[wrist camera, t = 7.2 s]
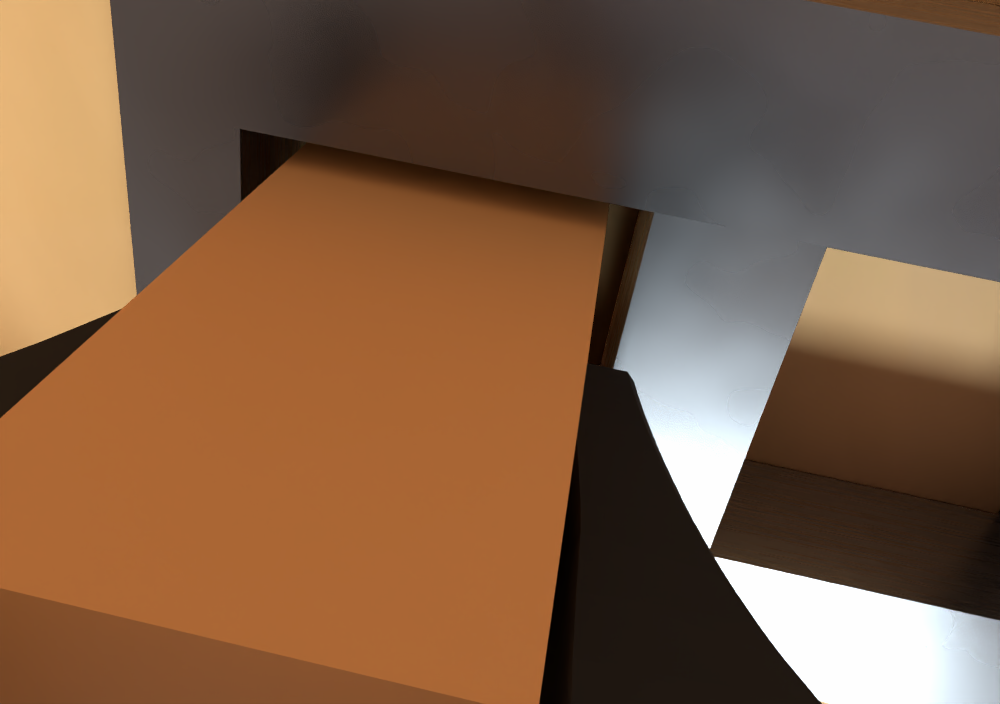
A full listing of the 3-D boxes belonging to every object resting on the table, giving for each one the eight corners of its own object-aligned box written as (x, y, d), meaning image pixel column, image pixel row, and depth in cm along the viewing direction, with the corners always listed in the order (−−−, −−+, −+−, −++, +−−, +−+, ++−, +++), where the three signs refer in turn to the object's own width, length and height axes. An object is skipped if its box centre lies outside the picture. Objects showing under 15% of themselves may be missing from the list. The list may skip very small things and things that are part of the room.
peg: (611, 190, 11) (536, 715, 5) (556, 427, 14) (450, 1022, 7) (319, 131, 12) (-148, 551, 5) (310, 373, 14) (-26, 897, 7)
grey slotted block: (2047, 198, 10) (2416, 299, 8) (1419, 723, 15) (1540, 867, 13) (204, -141, 11) (97, -131, 9) (224, 455, 17) (160, 547, 14)
